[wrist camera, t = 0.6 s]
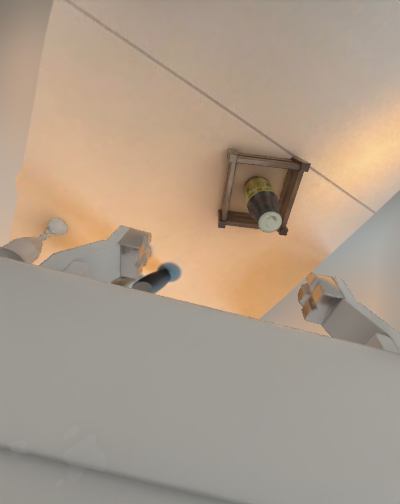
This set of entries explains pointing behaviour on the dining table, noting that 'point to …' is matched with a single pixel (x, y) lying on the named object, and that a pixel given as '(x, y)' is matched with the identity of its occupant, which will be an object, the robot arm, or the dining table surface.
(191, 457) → the robot arm
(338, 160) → the dining table surface
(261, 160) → the crate
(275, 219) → the sauce bottle
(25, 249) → the chalice
